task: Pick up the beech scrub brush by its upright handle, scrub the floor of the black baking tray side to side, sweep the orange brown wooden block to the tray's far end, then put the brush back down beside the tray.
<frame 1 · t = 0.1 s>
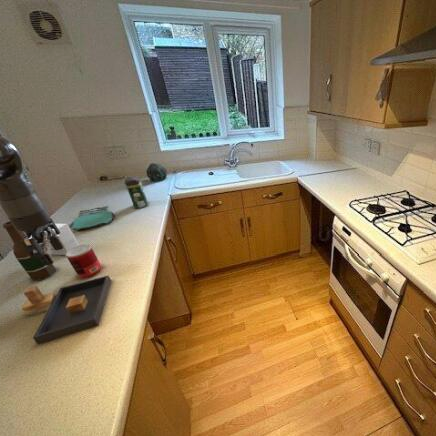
hand: (54, 256, 75), 19 cm above the worktop, tool pointing down, fingers open, 8 cm apart
squash: (159, 179, 197), on the worktop
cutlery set: (95, 219, 138), on the worktop
canned food: (91, 272, 97), on the worktop
beer bottle: (44, 274, 96), on the worktop
small box: (67, 251, 110), on the worktop
tray: (80, 308, 80), on the worktop
coffee jar: (141, 205, 153), on the worktop
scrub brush: (43, 307, 81), on the worktop
orange brown wooden block: (79, 307, 80), resting on tray
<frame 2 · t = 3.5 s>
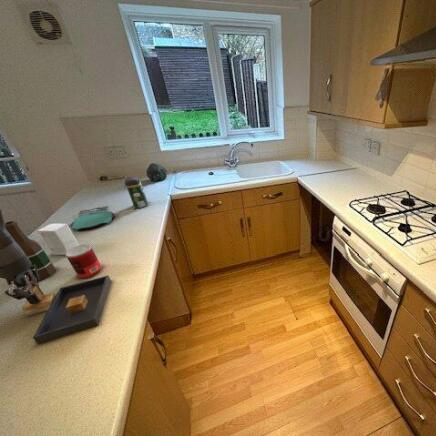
hand: (37, 299, 79), 4 cm above the worktop, tool pointing down, fingers closed on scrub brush, 2 cm apart
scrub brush: (43, 307, 81), on the worktop, touching gripper
everything else where it was.
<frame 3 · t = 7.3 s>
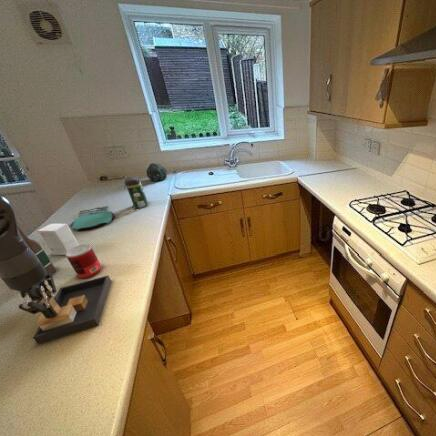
hand: (53, 312, 70), 7 cm above the worktop, tool pointing down, fingers closed on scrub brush, 2 cm apart
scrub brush: (60, 321, 72), point 3 cm above the worktop, touching gripper
everything else where it was.
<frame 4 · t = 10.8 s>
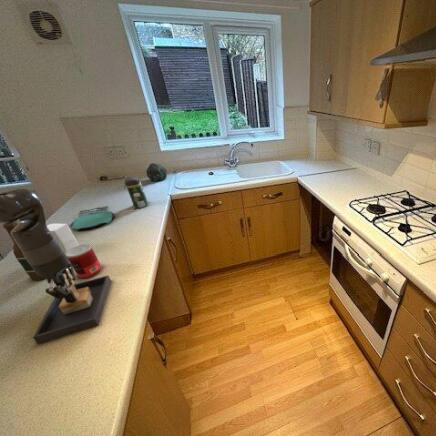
hand: (73, 298, 78), 5 cm above the worktop, tool pointing down, fingers closed on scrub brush, 2 cm apart
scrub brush: (79, 306, 80), point 1 cm above the worktop, touching gripper
orange brown wooden block: (83, 298, 83), point 1 cm above the worktop
everything else where it was.
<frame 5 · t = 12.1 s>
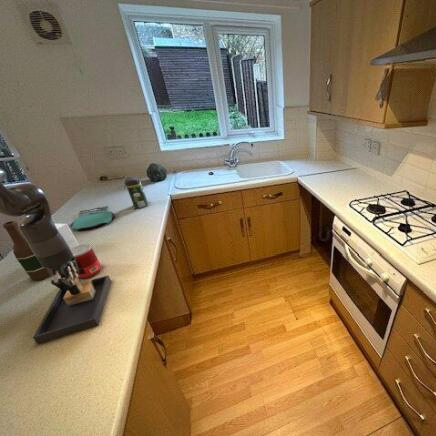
hand: (77, 290, 81), 5 cm above the worktop, tool pointing down, fingers closed on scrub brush, 2 cm apart
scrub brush: (82, 298, 83), point 1 cm above the worktop, touching orange brown wooden block, gripper
orange brown wooden block: (86, 291, 87), point 1 cm above the worktop, touching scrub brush, tray
everything else where it was.
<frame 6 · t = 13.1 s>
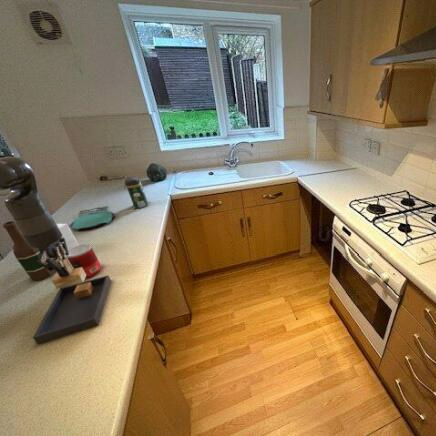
hand: (66, 272, 78), 12 cm above the worktop, tool pointing down, fingers closed on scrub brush, 2 cm apart
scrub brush: (72, 281, 80), point 8 cm above the worktop, touching gripper
orange brown wooden block: (85, 293, 86), resting on tray
everything else where it was.
when the fingers open (4 cm above the worktop, at t = 17.7 s): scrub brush stays where it is, on the worktop.
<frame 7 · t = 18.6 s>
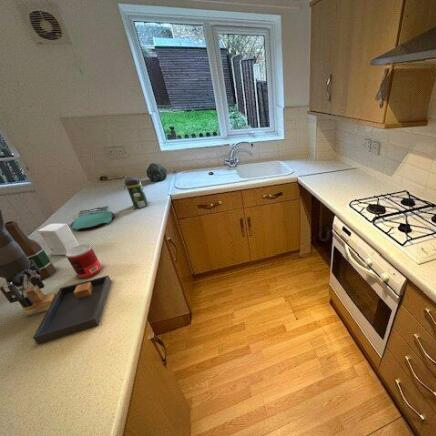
hand: (35, 296, 78), 5 cm above the worktop, tool pointing down, fingers open, 8 cm apart
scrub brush: (44, 307, 81), on the worktop
everything else where it was.
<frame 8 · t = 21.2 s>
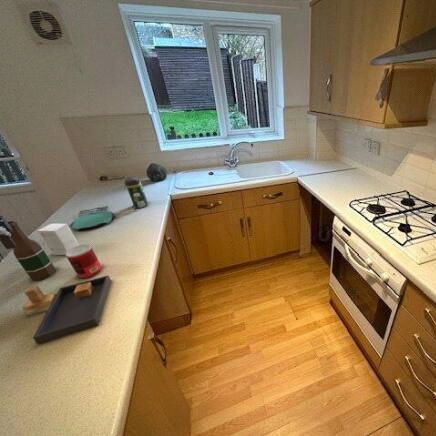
hand: (4, 255, 70), 22 cm above the worktop, tool pointing down, fingers open, 8 cm apart
nothing on the worktop moved.
at the end: orange brown wooden block inside the target area in the tray (0.5 cm from its centre), point 0.5 cm above the tray's base; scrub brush inside the target area (0.2 cm from its centre), on the worktop; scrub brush tilted 0° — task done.
